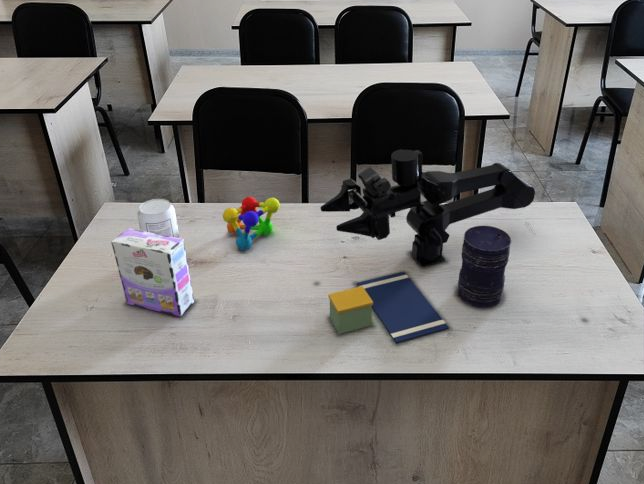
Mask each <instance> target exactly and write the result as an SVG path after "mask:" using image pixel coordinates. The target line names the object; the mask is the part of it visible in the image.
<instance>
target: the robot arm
mask: <svg viewBox="0 0 644 484" xmlns="http://www.w3.org/2000/svg"><path fill="white" fill-rule="evenodd" d="M390 156H391V157H390V158H391V160H390V161H391V179H392V181H393V182H395V183H396V184H395V185H392V184H391V183H390V181H389V179H388V178H386V177H381V175H379V173H378V172H376V170H375V169H373V168H372V167H371V166H369V167H367V168H365V169H364V170H363V171H361V172H360V173H358V174H357V177H358V178H359V179H360V180H361V182H362V184H363V186H364V187H363V188H362V187H361V186H360V184H358V183H357V182H356V181H355V180H354V179H352V178H348V179H344V180H342V184H341V187H340V191H339V193H337V194H336V195H335V196H334V197H332V198H331V199H329V200H328V201H327V202H325V203H324V204H323V205H321V206H320V211H321V212H325V213H331V212H333V213H334V212H351V210H352V211H353V210H358V209H360V210H361V211H362V213H361V214H360V216H357V217H354V218H352V219H349V220H346V221H343V222H341V223H339V224H337V225H336V228H335V229H336V231H337V232H342V233H349V234H355V235H360V236H365V237H369V238H371V239H377V241H382V240H384V239H386V238H388V237H389V235H390V234H391V230H390V228H391V227H390V218H394V217H396V213H398V212H402V211H405V210H408V209H409V211H408V212H407V214H406V216H405V217H406V218H405V220H406V223H407V225H408V226H409V227H410V228H411V229H412V230H413V231H414V232H415V233H416V234H414V239H413V241H412V242H411V243H412V244H411V245H412V246H411V250H410V251H409V254H410V255H411V257H412V258H413V259H414V260H415V261H416V262H417V264H419V265H420V266H421V267H427V266H431V265H436V264H441V263H444V262H446V258H445V257H444V255H443V252H444V244H446V243H448V240H449V238H450V234H449V232H448V231H446V230H447V229H448V228H449V226H451V225H452V224H455V223H458V222H462V221H465V220H467V219H470V218H473V217H476V216H479V215H482V214H485V213H488V212H491V211H494V210H498V209H507V210H508V209H509V210H518V209H525V208H527V207H528V206H530V205H531V204H532V203H533V202H534V201H535V200H534V199H535V195H536V189H535V188H534V187H533V186H531V184H529V183H527V182H526V181H524V180H523V179H521V178H520V177H519V176H517V175H515V174H514V173H513V172H512V169H510V168H509V167H507V166H506V165H504V164H502V163H501V162H493V163H492V164H491V165H486V166H481V167H480V166H479V167H476V168H471V169H466V170H462V171H456V172H447V171H441V170H428V171H423V159H424V154H423V153H422V152H421V151H420V150H419V149H418V150H412V149H401V148H400V149H397V150H394V151H393V152H392V153H391V155H390ZM493 186H494V187H493ZM490 187H493V188H491V189H487V190H485V191H480V192H478V193H475V194H471V195H469V196H466V197H463V198H460V199H456V200H453V199H454V198H455V196H457V195H459V194H461V193H467V192H471V191H477V190H479V189H480V190H481V189H484V188H490ZM362 194H363V195H362ZM421 197H423V198H424V199H425V201H422V199H421ZM451 200H453V201H451Z"/></svg>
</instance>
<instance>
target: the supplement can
mask: <svg viewBox="0 0 644 484" xmlns="http://www.w3.org/2000/svg"><path fill="white" fill-rule="evenodd" d="M136 214H137V220H138V225H139V231H144V232H149V233H154V234H159V235H164V236H169V237H175V238H180V239H181V237H180V233H179V232H180V231H179V228H178V222H177V221H178V220H177V216H176V210H175V207H174V206H173V204H171V201H170V200H168V199H165V198H153V199H148V200H146V201H144V202H143V203H141V204H140V205H139V207H138V211H137V213H136Z"/></svg>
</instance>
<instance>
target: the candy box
mask: <svg viewBox="0 0 644 484" xmlns="http://www.w3.org/2000/svg"><path fill="white" fill-rule="evenodd" d="M110 243H111V247H112V250H113V253H114V254H113V255H114V258H115V263H116V265H117V271H118V273H119V278H120V282H121V286H122V289H123V293H124V297H125V300H126V301H125V302H126V304H127V305H130V306H134V307H139V308H142V309H147V310H151V311H156V312H159V313H163V314H168V315H171V316H177V317H182V316H183V315H184V314H185V312H186V311H187V310H188V309H189V308H190V307H191V306H192V305H193V304H194V303H195V297H194V292H193V285H192V280H191V274H190V269H189V263H188V257H187V252H186V246H185V240H184V238H181V237H180V238H175V237H169V236H164V235H159V234H154V233H149V232H144V231H141V230H140V229H133V228H126V229H125V230H124V231H123V232H121V233H120V234H118V236H116V237H115V238H114V239H113V240H112V241H111V242H110Z"/></svg>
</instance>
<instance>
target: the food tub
mask: <svg viewBox="0 0 644 484" xmlns="http://www.w3.org/2000/svg"><path fill="white" fill-rule="evenodd" d="M327 296H328V299H329V319H330V321H331V322H332V324H333V326H334V328H335V330H336V331H337V333H338V335H342V334H345V333H349V332H352V331H356V330H360V329H364V328H367V327H371V326H372V321H373V319H372V317H373V314H372V313H373V308H372V305H373V301H372V300H371V298H370V297H369V295H368V294H367V292H366V291H365V289H364V288H363V286H360V287H358V286H356V287H352V288H348V289H344V290H339V291H336V292H332V293H328V295H327Z"/></svg>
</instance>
